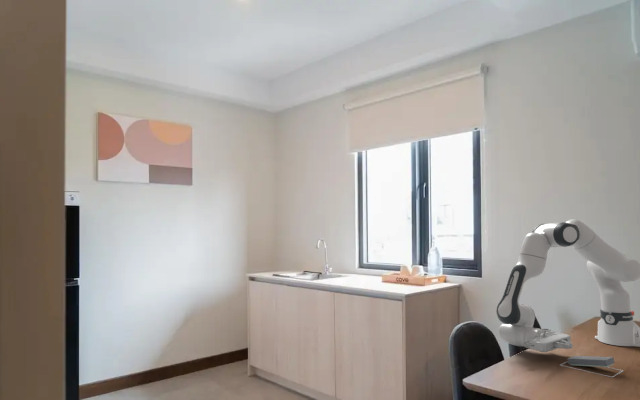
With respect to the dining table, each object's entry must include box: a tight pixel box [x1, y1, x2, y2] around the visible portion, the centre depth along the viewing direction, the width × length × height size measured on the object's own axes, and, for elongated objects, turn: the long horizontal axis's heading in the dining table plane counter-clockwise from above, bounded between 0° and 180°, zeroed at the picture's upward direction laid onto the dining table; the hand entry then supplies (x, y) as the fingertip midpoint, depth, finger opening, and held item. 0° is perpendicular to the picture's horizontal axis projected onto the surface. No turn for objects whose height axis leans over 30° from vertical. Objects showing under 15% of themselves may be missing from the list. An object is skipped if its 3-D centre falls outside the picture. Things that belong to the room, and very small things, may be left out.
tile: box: [567, 355, 615, 368], centre depth 165 cm, size 6×2×14 cm
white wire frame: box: [559, 360, 624, 378], centre depth 165 cm, size 11×1×18 cm
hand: (570, 346), depth 171 cm, fingers closed
